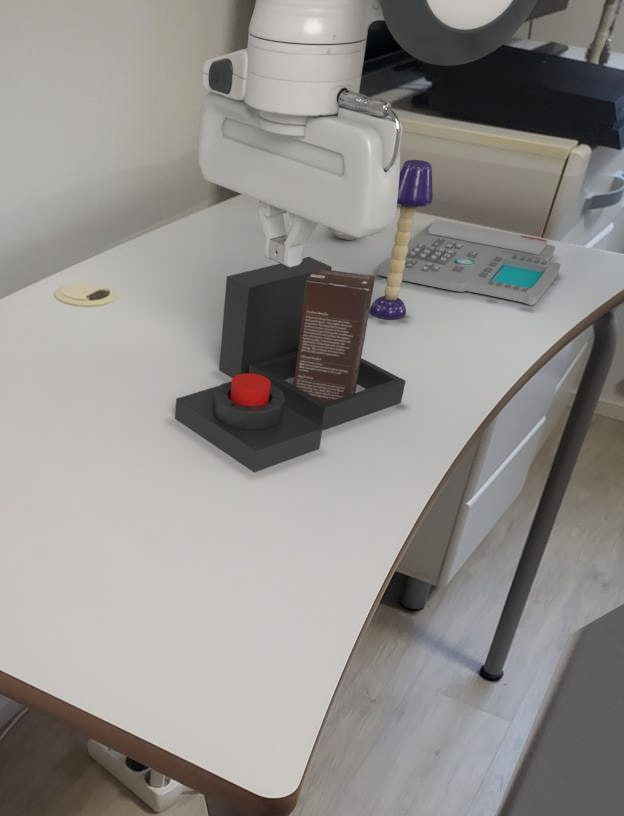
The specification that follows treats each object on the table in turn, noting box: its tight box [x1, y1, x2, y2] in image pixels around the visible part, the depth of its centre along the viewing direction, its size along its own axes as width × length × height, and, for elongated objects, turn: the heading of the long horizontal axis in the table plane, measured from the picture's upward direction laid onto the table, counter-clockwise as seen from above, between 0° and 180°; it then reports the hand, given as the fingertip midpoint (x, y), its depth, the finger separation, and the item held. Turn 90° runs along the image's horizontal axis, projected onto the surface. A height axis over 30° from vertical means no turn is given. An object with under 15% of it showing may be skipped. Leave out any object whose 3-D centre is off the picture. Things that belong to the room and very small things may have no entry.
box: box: [292, 268, 376, 403], centre depth 95 cm, size 6×4×12 cm
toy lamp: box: [369, 159, 434, 320], centre depth 111 cm, size 5×5×17 cm
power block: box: [174, 380, 323, 473], centre depth 91 cm, size 12×8×4 cm, turn 35°
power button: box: [230, 373, 271, 406], centre depth 90 cm, size 4×4×2 cm
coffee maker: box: [218, 256, 406, 432], centre depth 97 cm, size 16×11×10 cm
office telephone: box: [376, 219, 561, 306], centre depth 129 cm, size 23×3×20 cm
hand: (282, 261), depth 83 cm, fingers closed
